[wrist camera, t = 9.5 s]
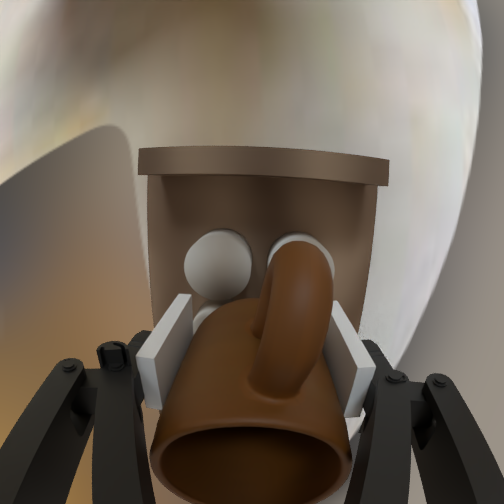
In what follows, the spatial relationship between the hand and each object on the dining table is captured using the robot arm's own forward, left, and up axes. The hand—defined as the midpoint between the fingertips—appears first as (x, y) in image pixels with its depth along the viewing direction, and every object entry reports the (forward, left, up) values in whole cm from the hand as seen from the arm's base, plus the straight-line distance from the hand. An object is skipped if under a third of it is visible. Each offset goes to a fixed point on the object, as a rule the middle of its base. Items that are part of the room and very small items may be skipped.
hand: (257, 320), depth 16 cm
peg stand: (0, 0, -6) cm, 6 cm away
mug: (0, 0, 0) cm, 1 cm away
